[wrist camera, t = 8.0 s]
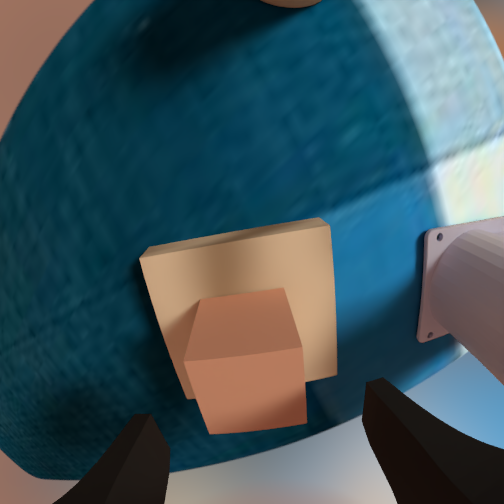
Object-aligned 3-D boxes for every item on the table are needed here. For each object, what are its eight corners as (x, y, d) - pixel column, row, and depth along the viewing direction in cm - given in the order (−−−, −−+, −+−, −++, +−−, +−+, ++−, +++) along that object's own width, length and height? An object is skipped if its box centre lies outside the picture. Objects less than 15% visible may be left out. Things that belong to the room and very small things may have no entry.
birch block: (315, 215, 16) (329, 225, 14) (326, 351, 19) (337, 374, 16) (152, 243, 16) (139, 258, 14) (191, 373, 19) (187, 399, 16)
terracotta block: (283, 287, 14) (302, 346, 10) (290, 354, 16) (307, 423, 11) (200, 299, 14) (183, 361, 10) (216, 364, 16) (209, 434, 11)
